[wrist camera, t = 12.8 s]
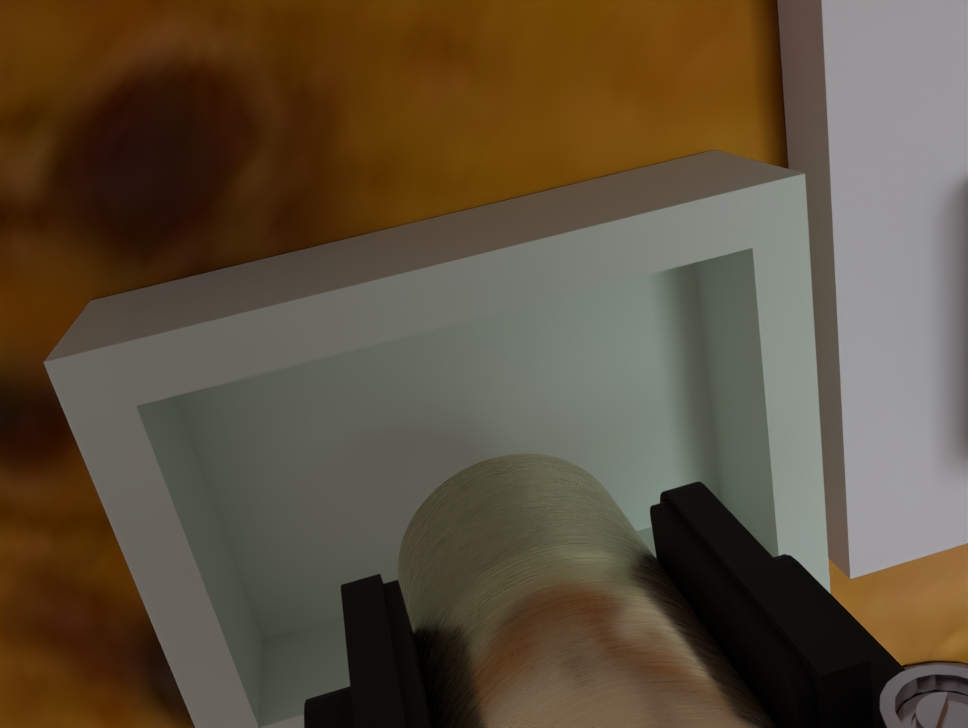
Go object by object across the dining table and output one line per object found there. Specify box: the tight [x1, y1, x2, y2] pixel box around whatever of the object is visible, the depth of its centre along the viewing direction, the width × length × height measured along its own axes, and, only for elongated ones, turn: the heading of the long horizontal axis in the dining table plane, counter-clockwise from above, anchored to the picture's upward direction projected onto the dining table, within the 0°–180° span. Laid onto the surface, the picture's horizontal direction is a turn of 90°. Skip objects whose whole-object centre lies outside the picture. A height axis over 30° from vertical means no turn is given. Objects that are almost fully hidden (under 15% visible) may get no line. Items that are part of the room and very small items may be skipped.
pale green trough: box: [43, 150, 830, 728], centre depth 17 cm, size 8×12×3 cm
